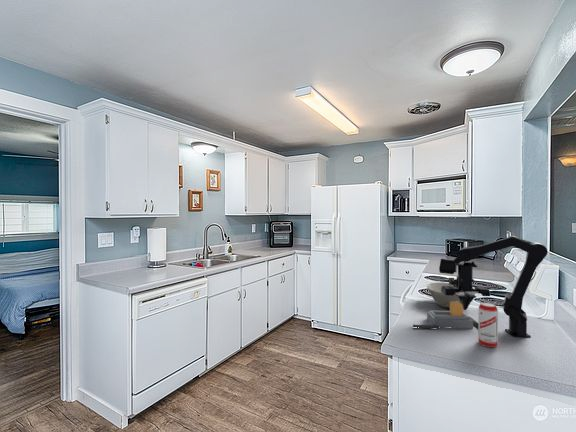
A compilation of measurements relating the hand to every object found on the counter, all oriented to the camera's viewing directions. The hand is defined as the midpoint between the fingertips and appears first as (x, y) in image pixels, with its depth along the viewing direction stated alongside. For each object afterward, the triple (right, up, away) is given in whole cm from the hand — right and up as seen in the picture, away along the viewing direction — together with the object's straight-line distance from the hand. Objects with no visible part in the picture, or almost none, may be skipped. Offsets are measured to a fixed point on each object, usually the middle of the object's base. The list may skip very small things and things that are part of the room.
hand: (464, 309), depth 136 cm
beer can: (-3, -8, -20) cm, 21 cm away
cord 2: (+4, -7, 0) cm, 8 cm away
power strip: (-7, -7, +1) cm, 9 cm away
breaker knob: (-4, -3, +1) cm, 5 cm away
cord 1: (-20, -7, -4) cm, 21 cm away
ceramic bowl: (+6, -6, +24) cm, 25 cm away
